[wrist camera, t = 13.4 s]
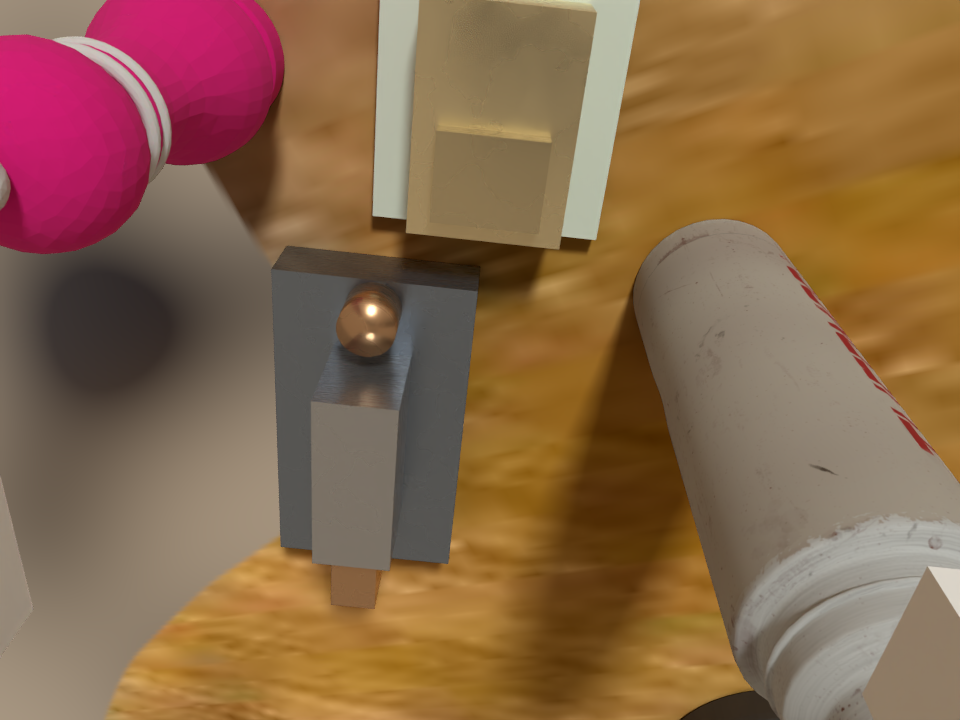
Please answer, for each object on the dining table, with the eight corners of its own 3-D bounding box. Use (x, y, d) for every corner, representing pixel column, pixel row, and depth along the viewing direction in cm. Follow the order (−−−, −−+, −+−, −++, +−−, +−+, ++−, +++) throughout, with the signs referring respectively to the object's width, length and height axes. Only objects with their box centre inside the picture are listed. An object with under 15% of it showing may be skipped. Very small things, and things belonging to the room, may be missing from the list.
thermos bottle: (772, 195, 39) (1202, 689, 15) (802, 332, 42) (1184, 910, 18) (614, 249, 40) (760, 771, 16) (654, 375, 44) (825, 957, 20)
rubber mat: (594, 232, 40) (595, 239, 39) (375, 208, 40) (372, 215, 39) (637, -7, 35) (640, -4, 34) (384, -36, 34) (381, -34, 33)
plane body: (451, 529, 50) (441, 630, 43) (292, 513, 50) (257, 611, 43) (480, 266, 41) (473, 340, 34) (286, 245, 41) (240, 316, 34)
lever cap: (556, 226, 39) (560, 258, 35) (413, 210, 39) (403, 241, 35) (590, 4, 34) (599, 15, 30) (426, -15, 34) (416, -6, 30)
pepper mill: (192, -72, 34) (-144, -43, 17) (327, 50, 36) (155, 189, 19) (108, 59, 37) (-254, 200, 19) (238, 165, 39) (17, 377, 22)
